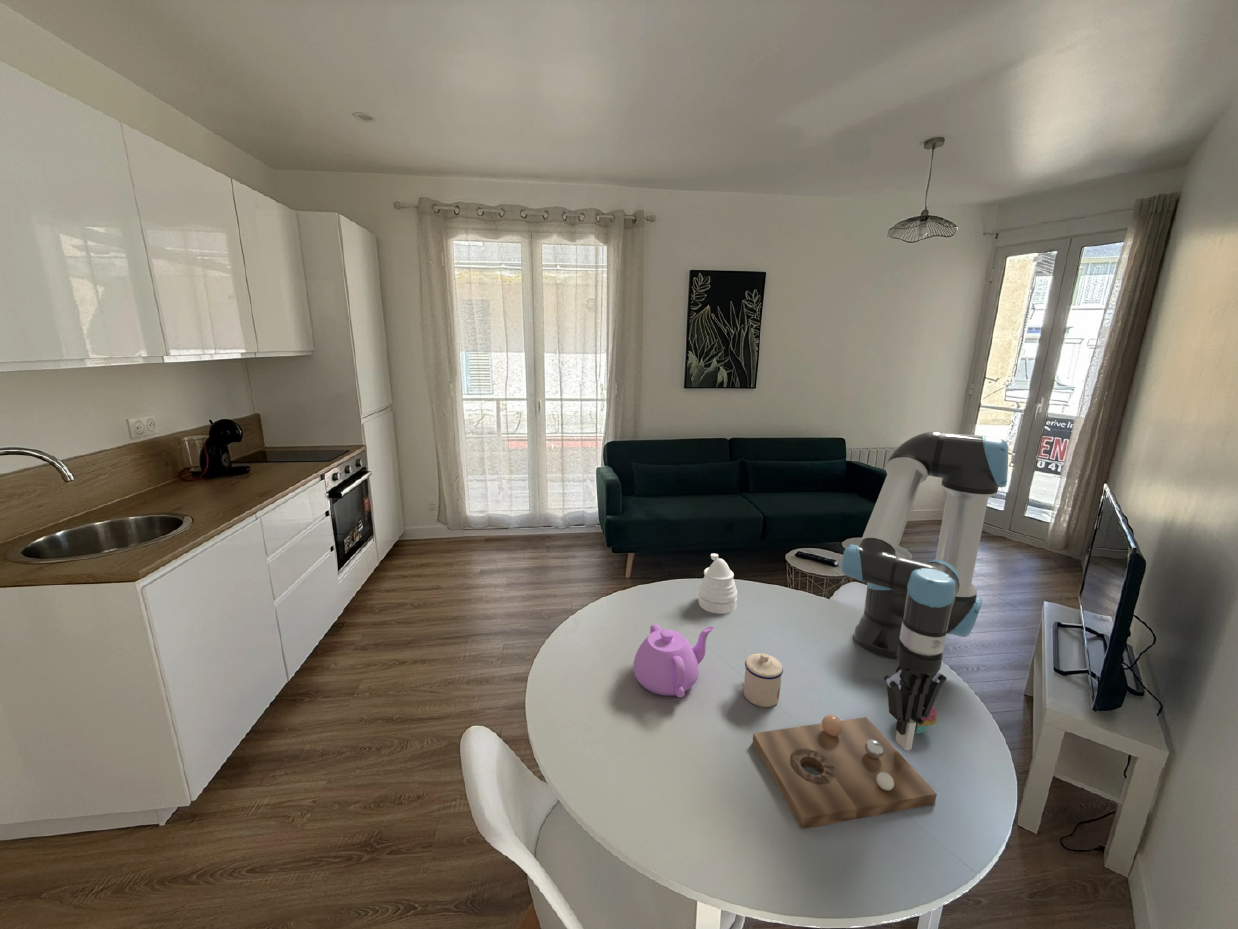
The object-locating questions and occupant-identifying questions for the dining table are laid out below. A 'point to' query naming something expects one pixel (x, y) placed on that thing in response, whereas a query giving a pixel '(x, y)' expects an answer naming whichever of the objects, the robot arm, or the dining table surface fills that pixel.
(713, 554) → the honey pot
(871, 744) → the steel ball
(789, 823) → the dining table surface
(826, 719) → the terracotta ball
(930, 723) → the cupcake
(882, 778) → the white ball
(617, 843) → the dining table surface
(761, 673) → the teacup with lid
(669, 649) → the teapot
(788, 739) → the wooden board
